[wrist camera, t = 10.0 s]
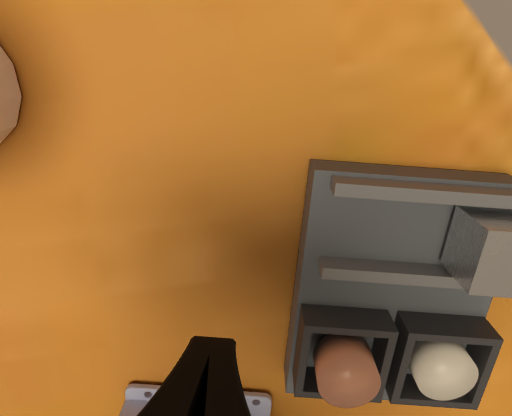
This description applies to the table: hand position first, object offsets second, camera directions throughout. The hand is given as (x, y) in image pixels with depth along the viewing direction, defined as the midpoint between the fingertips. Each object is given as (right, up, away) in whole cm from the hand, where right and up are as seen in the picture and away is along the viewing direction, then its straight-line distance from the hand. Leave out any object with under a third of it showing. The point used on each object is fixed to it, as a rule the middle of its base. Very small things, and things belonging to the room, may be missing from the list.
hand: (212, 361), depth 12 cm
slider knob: (+12, +4, +6) cm, 14 cm away
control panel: (+9, +1, +10) cm, 13 cm away
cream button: (+11, -3, +9) cm, 14 cm away
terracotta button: (+6, -3, +8) cm, 10 cm away
